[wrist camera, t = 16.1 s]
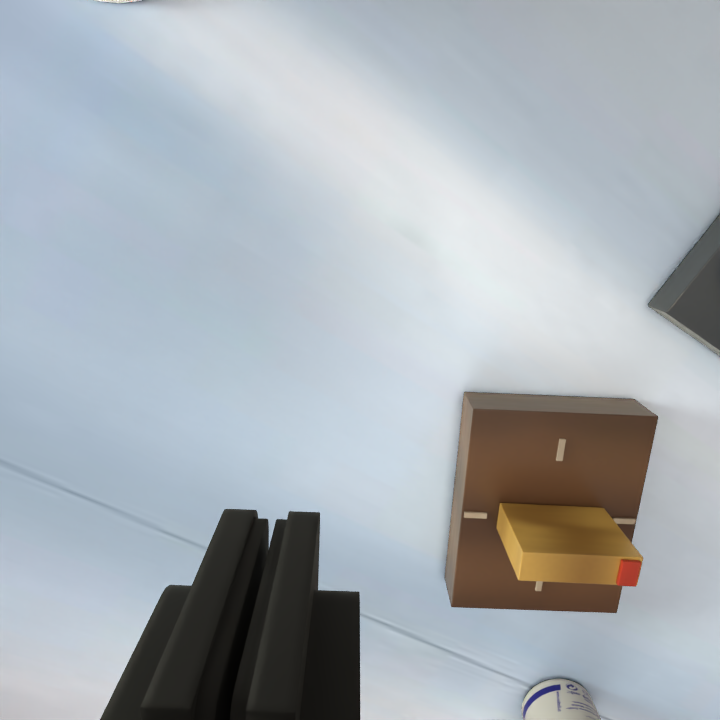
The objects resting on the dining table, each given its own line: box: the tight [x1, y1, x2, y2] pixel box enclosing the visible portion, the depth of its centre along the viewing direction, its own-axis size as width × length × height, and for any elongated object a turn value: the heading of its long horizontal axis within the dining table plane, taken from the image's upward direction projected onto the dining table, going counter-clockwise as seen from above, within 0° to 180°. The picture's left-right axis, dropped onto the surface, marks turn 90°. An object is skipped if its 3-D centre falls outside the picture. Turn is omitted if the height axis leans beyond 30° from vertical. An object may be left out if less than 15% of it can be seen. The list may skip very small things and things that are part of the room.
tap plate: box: [445, 392, 658, 613], centre depth 36 cm, size 14×11×3 cm
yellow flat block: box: [496, 503, 643, 586], centre depth 32 cm, size 6×2×5 cm, turn 87°
